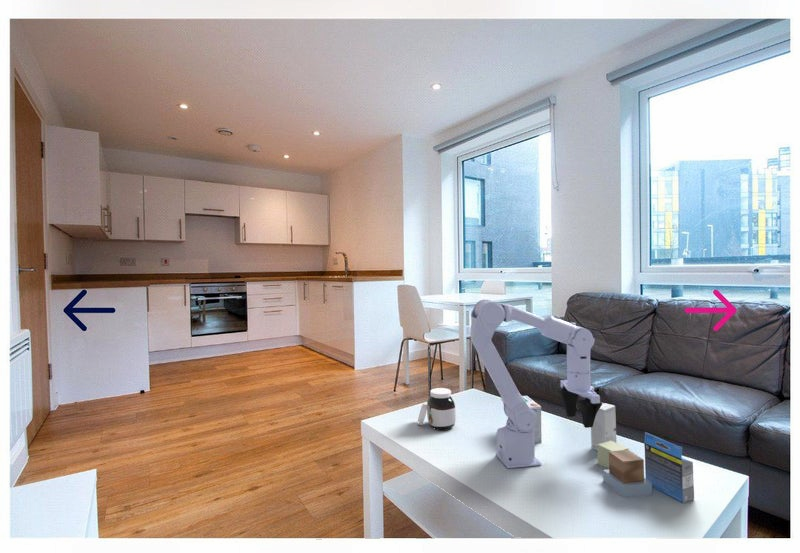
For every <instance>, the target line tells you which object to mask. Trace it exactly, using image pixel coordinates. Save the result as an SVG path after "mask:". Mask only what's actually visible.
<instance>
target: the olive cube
mask: <svg viewBox="0 0 800 553" xmlns="http://www.w3.org/2000/svg"><path fill="white" fill-rule="evenodd" d="M597 446H598V451H597V463H598V464H600V466H602V467H605V468H607V469H609V451H619V450H629V448H628V447H627V446H624V445H622V444H619V443H617V442H616V443H615V442H613V441H608V442H604V443H600V444H597Z"/></svg>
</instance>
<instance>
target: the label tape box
mask: <svg viewBox="0 0 800 553" xmlns="http://www.w3.org/2000/svg"><path fill="white" fill-rule="evenodd" d="M657 443H658V444H660V445H661V444H663V446H665V447H667V448H668V449H667V448H665V447H662V446H660V445H658V444H657ZM643 445H644V476H645V479H646V480H648V481H649V482H651V483H652V488H653V489H656V490H658V492H659V491H660V492H661V493H664V494H666V495H667V496H670V497H671V498H673V499H675V500H677V501H678V502H681V503H683V504H685V503H689V502H691V501H693V500H695V487H694V481H695V480H694V462H693V461H691V460H689V459H686V458H684V457H683V456H682V455H683V447H682V446H679V445H677V444H675V443H672V442H669V441H667V440H665V439H662V438H660V437H658V436H656V435H653V434H651V433H650V432H649V433H648V432H646V431H645V432H644V443H643Z"/></svg>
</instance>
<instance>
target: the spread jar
mask: <svg viewBox="0 0 800 553" xmlns="http://www.w3.org/2000/svg"><path fill="white" fill-rule="evenodd" d="M426 402H427V403H422V405H421V407H420V411H419V414H418V418H417V423H418V422H419V423H418V424H417V425H418V426H421V425H422V426H423V425H424V422H425V418H426V415H427V422H428V424H429V426H430V427H431V428H432V427H433V428H435V429H434V430H436V429H439V430H438V431H446V430H445V429H447V430H450V429H452V428H453V427H454V426H455V424H456V422H457V421H456V420H457V417H456V416H457V415H456V412H457V411H456V404H455V401H454V399H453V397H452V391H451V389H450V388H447V387H445V388H444V387H436V388H432V389H430V396H429V397H428V399H427V401H426ZM433 428H432V429H433Z"/></svg>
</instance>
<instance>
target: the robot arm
mask: <svg viewBox="0 0 800 553" xmlns="http://www.w3.org/2000/svg"><path fill="white" fill-rule="evenodd" d="M470 316H471V319H470V320H471V325H470V341H471V344H472V345H473V347H474V348H475V350H476V352H477V354H478V356H479V358H480V359H481V361H482V364H483V365H484V367H485V369H486V370H487V372H488V374H489V377H490V378H491V380H492V381H493V384H494V386H495V388H496V389H497V392H498V393H499V395H500V398H501V399H500V400H501V401H502V403H503V412H504V414H505V416H506V417H507V419H506V423H505V424H506V425H505V426H503V427H499V428H497V430H496V453H495V455H496V456H497V458H498V459H499V460H500V461H501V463H502V464H503V465H504V466H505V467H506V468H507V469H514V468H515V469H516V468H526V467H534V466H535V467H536V466H541V465H542V462H541V461H540V459H538V458H537V457H536V454H535V453H536V449H535V447H536V446H535V444H536V443H535V441H534V428H535V427H536V425H537V421H538V418H537V414H536V413H535V411H534V410H532V409H531V408H530V407H529V406H528V405H527V403H526V402H525V400H524V399H523V397H522V396H523V395H522V394H521V393H520V391H519V390H518V388H517V386H516V383H515V382H514V380H513V378H512V376H511V375H510V372H509V371H508V369H507V367H506V366H505V363H504V361H503V360H502V357H501V356H500V354H499V352H498V350H497V348H496V346H495V345H494V343H493V341H492V340H493V336H494V334H495V331H496V330H497V329H498V328H499V326H501V324H502V323H503V322H504V323H509V322H513V321H517V322H518V323H522V324H525V325H527V326H530V327H533V328H536V329H538V331H539V332H540V334H541V336H543V337H546V338H548V339H551V340H554V341H557V342H558V343H559V342H560V343H562V344H566V377H567V378H566V379H564V380H561V379H560V388H561V389H558V390H557V391H558V392H557V393H558V395H559V396H560V398H561V400H562V404H563V405H564V409H565V413H566V416H567V417H568V418H572V417H576V414H577V403H578V405H579V408H580V411H581V417H582V423H583V424H582V425H583V428H586V429H587V428H588V429H589V428H590V429H591V427H593V424H594V420H595V417H596V414H597V412H598V410H599V408H600V407H601V406H602V403H603V402H602V401H601V396H600V395H599V394H597V392H595V391H594V390H595V387H594V386H592V384H591V378H592V377H591V349H592V347H593V346H594V344H595V341H596V339H595V338H594V337H593V334H592V332H591V331H590V330H589V329H588V328H585V327H581V326H578V325H577V324H576V322H573V321H570V322H568V321H565V320H563V319H561V317H560V316H559V315H557V314H553V315H546V316H543V317H541V316H539V315H537V314H534V313H531V312H529V311H526V310H524V309H522V308H519V307H517V306H514V305H510V304H506V303H502V302H497V301H491V300H490V299H480V300H478V301H477V302H476V303H475V304H474V306H473V309H472V311H471V313H470ZM579 396H580V397H582V398H583V399H579V400H578V398H579Z"/></svg>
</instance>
